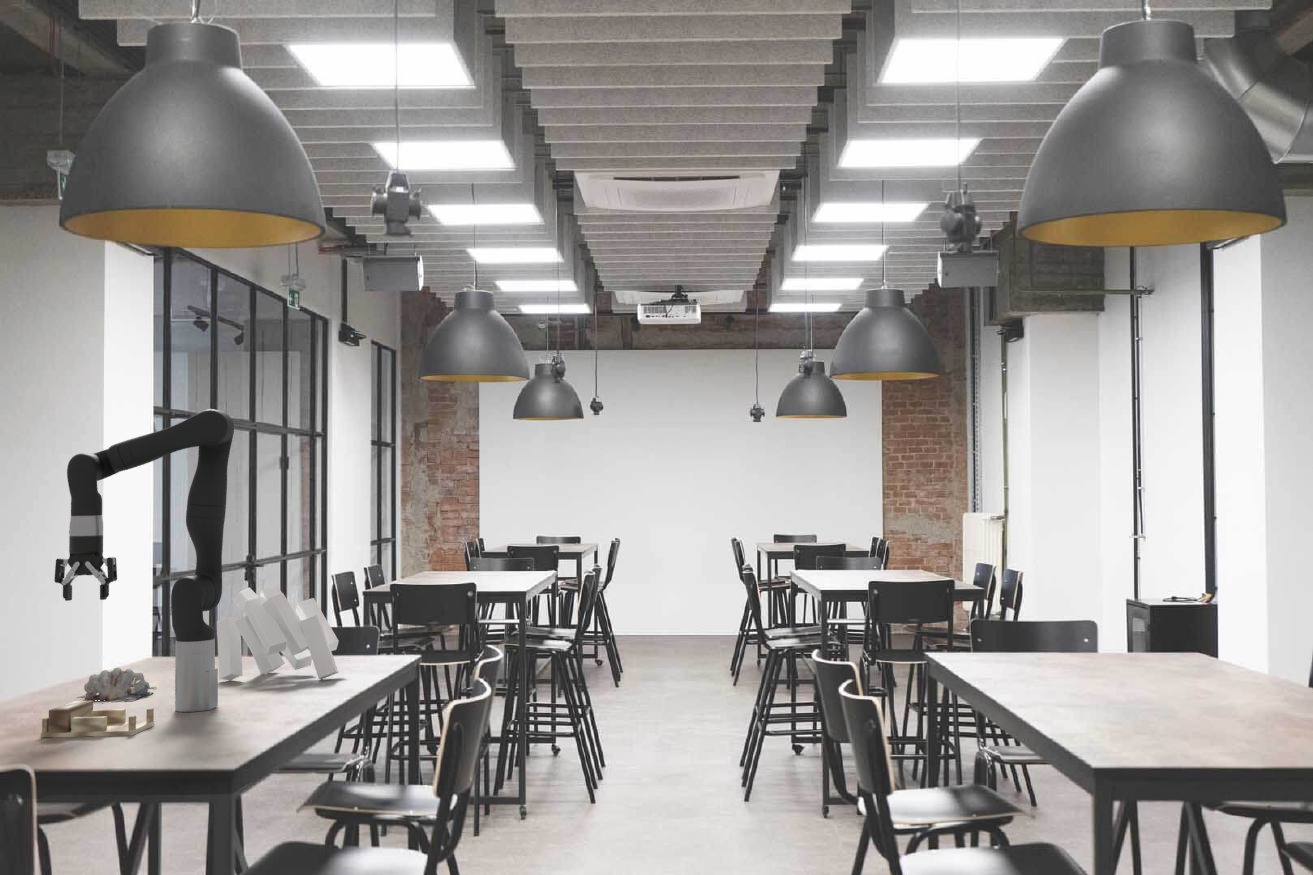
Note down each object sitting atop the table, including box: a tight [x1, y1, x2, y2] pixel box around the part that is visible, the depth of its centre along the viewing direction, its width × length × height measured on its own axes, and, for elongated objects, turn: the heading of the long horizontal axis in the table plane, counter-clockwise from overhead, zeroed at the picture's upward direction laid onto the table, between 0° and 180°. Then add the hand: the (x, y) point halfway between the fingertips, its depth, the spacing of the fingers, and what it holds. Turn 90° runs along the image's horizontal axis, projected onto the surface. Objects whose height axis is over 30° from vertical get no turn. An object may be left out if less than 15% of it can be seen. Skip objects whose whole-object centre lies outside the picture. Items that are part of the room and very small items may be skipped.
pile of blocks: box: [216, 585, 340, 681], centre depth 343 cm, size 35×30×35 cm
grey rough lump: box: [76, 667, 157, 703], centre depth 314 cm, size 19×10×30 cm
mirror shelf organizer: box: [40, 707, 155, 738], centre depth 262 cm, size 20×12×4 cm, turn 91°
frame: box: [48, 700, 94, 733], centre depth 261 cm, size 4×12×5 cm, turn 1°
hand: (85, 600), depth 285 cm, fingers open, 8 cm apart
